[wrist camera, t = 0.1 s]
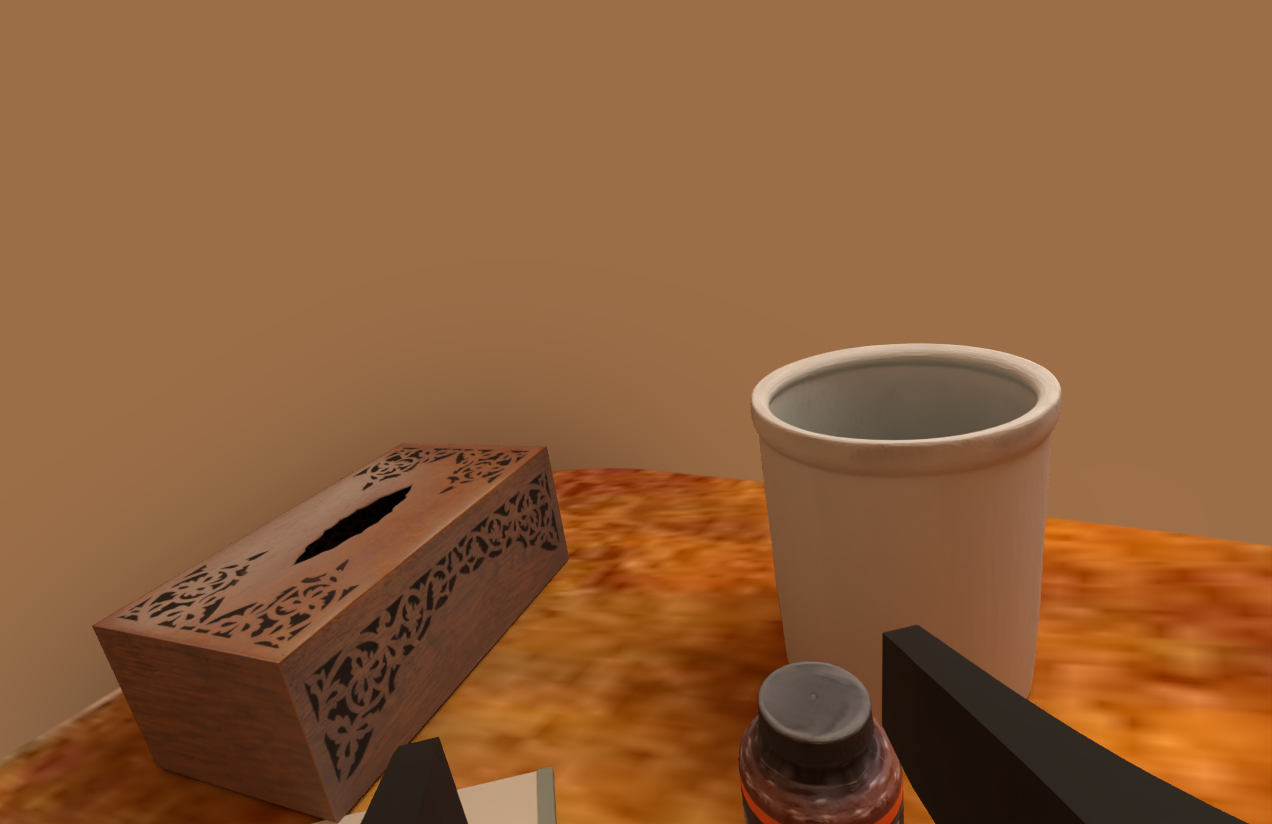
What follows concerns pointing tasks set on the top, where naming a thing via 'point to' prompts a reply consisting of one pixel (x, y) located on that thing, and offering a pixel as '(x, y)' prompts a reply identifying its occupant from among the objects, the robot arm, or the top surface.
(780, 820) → the supplement bottle
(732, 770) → the top surface
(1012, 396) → the utensil holder
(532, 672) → the top surface
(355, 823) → the mat
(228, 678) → the tissue box cover
